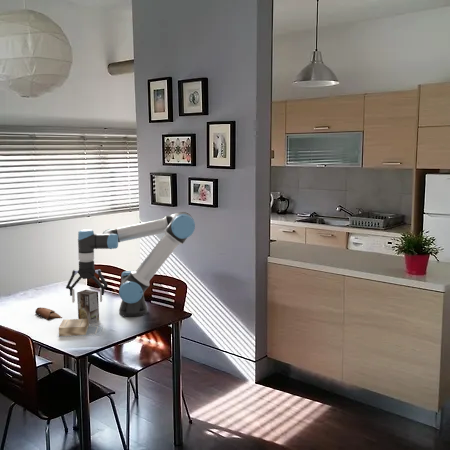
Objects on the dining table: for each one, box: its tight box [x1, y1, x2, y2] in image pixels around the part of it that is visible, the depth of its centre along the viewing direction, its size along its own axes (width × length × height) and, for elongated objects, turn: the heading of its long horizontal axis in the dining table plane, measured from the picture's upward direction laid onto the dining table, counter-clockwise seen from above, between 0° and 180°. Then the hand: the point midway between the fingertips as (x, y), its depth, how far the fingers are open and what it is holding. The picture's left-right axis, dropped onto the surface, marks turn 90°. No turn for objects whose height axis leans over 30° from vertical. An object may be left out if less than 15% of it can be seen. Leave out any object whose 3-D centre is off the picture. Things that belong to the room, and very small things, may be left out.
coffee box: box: [76, 289, 100, 325], centre depth 255 cm, size 9×6×16 cm
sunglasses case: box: [35, 307, 63, 321], centre depth 266 cm, size 18×7×7 cm
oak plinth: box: [58, 318, 90, 337], centre depth 241 cm, size 12×12×4 cm
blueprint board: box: [56, 324, 104, 338], centre depth 241 cm, size 20×14×1 cm
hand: (87, 301), depth 255 cm, fingers open, 13 cm apart
